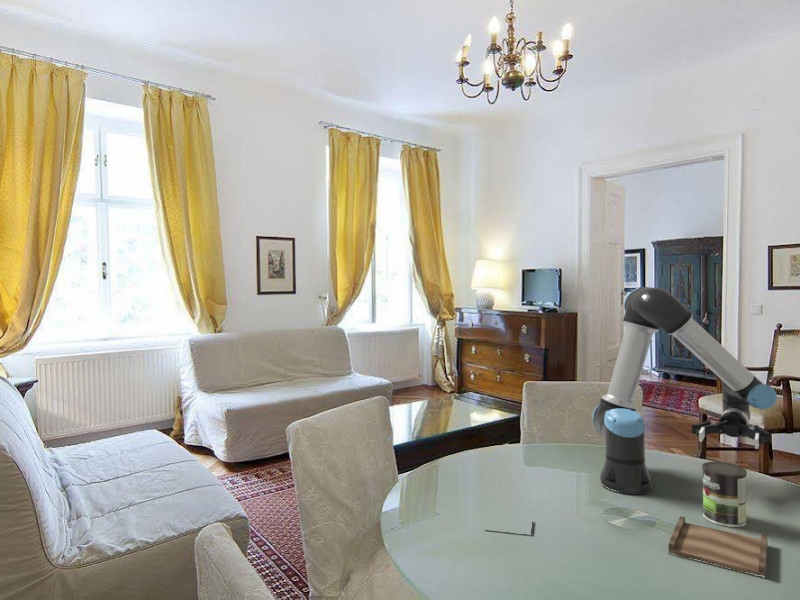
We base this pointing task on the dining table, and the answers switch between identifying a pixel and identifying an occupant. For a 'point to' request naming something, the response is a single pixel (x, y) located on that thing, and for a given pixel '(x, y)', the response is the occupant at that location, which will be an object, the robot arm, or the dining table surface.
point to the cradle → (720, 547)
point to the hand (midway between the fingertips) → (727, 440)
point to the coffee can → (724, 494)
